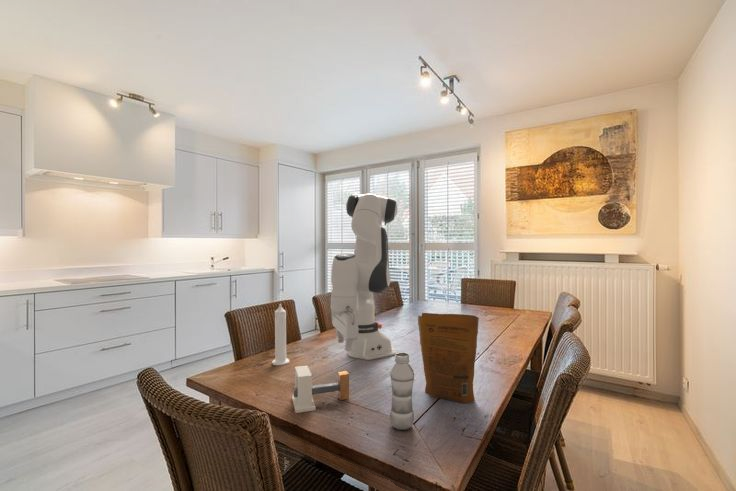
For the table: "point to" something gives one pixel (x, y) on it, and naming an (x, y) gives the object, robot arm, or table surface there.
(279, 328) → the candle
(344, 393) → the wooden mallet
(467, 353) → the pancake mix bag
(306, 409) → the block
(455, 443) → the table surface
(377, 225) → the robot arm
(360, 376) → the table surface
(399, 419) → the plastic bottle
